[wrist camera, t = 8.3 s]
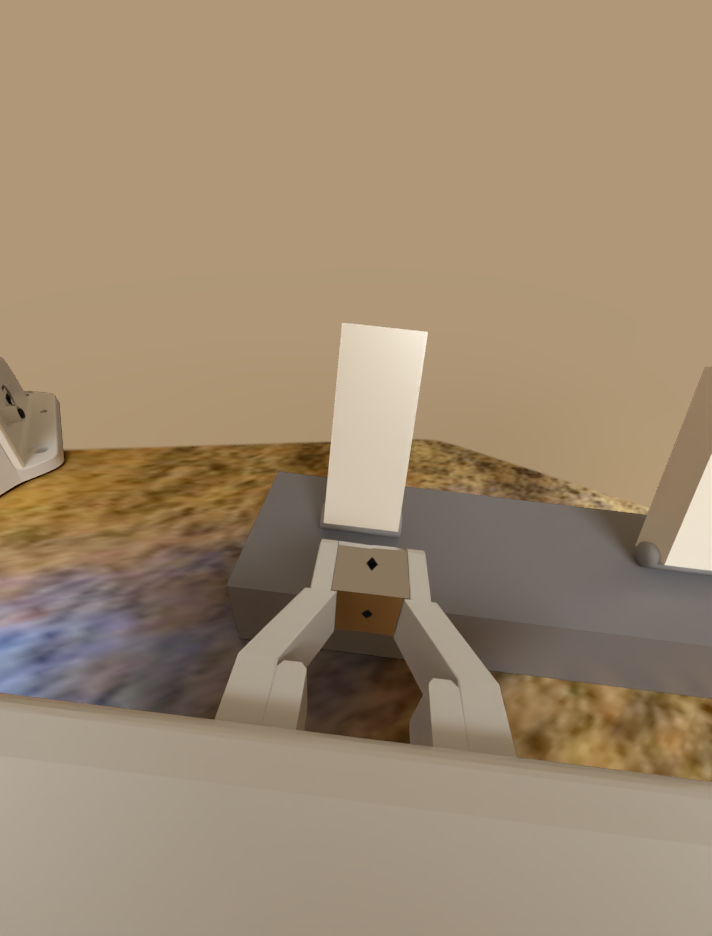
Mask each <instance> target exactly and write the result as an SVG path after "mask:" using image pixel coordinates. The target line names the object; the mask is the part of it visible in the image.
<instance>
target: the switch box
mask: <svg viewBox="0 0 712 936" xmlns="http://www.w3.org/2000/svg"><path fill="white" fill-rule="evenodd" d="M327 479H328V477H321V476H313V475H304V474H296V473H287V472H279V471H278V473H277V475H276V478H275V480H274V482H273V484H272V486H271V489H270V491H269V493H268V495H267V497H266V499H265V502H264V504H263V506H262V508H261V510H260V513H259V515H258V517H257V519H256V521H255V523H254V526H253V528H252V530H251V532H250V534H249V536H248V539H247V541H246V543H245V545H244V547H243V550H242V552H241V554H240V556H239V558H238V560H237V563H236V565H235V567H234V569H233V571H232V574H231V576H230V578H229V580H228V582H227V584H226V588H227V592H228V596H229V600H230V604H231V607H232V611H233V615H234V619H235V623H236V627H237V631H238V635H239V638H241V639H248V640H252V639H253V638H254V637H255V636H256V635H257V634H258V633H259V632H260V631H261V630H262V629H263V628H264V627H265V626H266V625H267V624H268V623H269V622H270V621H271V620H272V619H273V618H274V617H275V616H276V615H277V614H278V613H279V612H280V611H281V610H282V609H284V608H285V607H286V606H287V605H288V604H289V603H290V602H291V601H292V600H293V599H294V598H295V597H296V596H297V595H298V594H299V593H300V592H301V591H302V590H303V589H304V588H310V587H311V582H312V578H313V573H314V568H315V564H316V559H317V555H318V550H319V545H320V542H321V540H322V539H327V540H335V541H344V542H351V543H358V544H365V545H378V546H388V547H397V548H406V549H414V550H423V551H424V552H425V554H426V563H427V571H428V579H429V588H430V596H431V602H434V603H437V604H438V605H439V607H440V608H441V609H442V611H443V612H444V613H445V614H446V616H447V617H448V618H449V620H450V621H451V622H452V624H453V625H454V626H455V628H456V629H457V630H458V632H459V633H460V634H461V635H462V637H463V638H464V639H465V641H466V642H467V643H468V645H469V646H470V647H471V649H472V650H473V651H474V653H475V654H476V655H477V656H478V658H479V659H480V660H481V662H482V663H483V664H484V666H485V667H486V668H487V670H491V671H499V672H507V673H514V674H522V675H530V676H538V677H546V678H554V679H561V680H569V681H577V682H585V683H593V684H600V685H608V686H616V687H624V688H632V689H640V690H647V691H655V692H663V693H671V694H679V695H687V696H694V697H702V698H710V699H712V575H704V574H695V573H687V572H679V571H671V570H662V569H654V568H646V567H643V566H641V565H640V564H639V563H638V562H637V560H636V558H635V549H636V546H635V545H636V542H637V540H638V537H639V535H640V532H641V530H642V527H643V524H644V522H645V519H646V517H647V515H643V514H634V513H626V512H618V511H609V510H601V509H592V508H584V507H575V506H567V505H558V504H550V503H541V502H533V501H524V500H516V499H508V498H499V497H491V496H482V495H474V494H465V493H457V492H448V491H440V490H431V489H423V488H414V487H406V486H405V489H404V496H403V503H402V509H401V513H402V529H401V535H400V537H399V538H397V537H389V536H381V535H373V534H364V533H356V532H348V531H339V530H331V529H323V528H320V521H321V513H322V507H323V504H324V503H325V501H326V490H327ZM321 649H327V650H334V651H342V652H350V653H358V654H366V655H374V656H381V657H389V658H397V659H404V657H403V655H402V653H401V651H400V649H399V647H398V645H397V643H396V641H395V640H394V636H390V635H383V634H376V633H369V632H362V631H351V630H340V629H334V632H333V633H332V634H331V636H330V637H329V638H328V640H327V641H326V642H325V644H324V645H323V646H322V648H321Z"/></svg>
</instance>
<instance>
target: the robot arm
mask: <svg viewBox="0 0 712 936" xmlns="http://www.w3.org/2000/svg"><path fill="white" fill-rule="evenodd" d="M63 462H64V453H63V441H62V429H61V417H60V405H59V401H58V400H57V398H56V396H55V395H54V394H51V393H45V392H34V391H23V389H22V388H21V386H20V385H19V382H18V381H17V379H16V377H15V375H14V374H13V372H12V371H11V369H10V368H9V366H8V365H7V363H6V362H5V361H4V359H3V358H1V357H0V495H1V494H3V493H4V492H6V491H8V490H9V489H11V488H12V487H14V486H16V485H18V484H20V483H22V482H24V481H27V480H29V479H32V478H34V477H37V476H39V475H42V474H44V473H46V472H49V471H51V470H53V469H55V468H57V467H59V466H60V465H61V464H62V463H63ZM334 629H340V630H351V631H362V632H369V633H376V634H383V635H390V636H394V640H395V641H396V643H397V645H398V647H399V649H400V651H401V653H402V655H403V657H404V659H405V661H406V663H407V665H408V667H409V669H410V671H411V673H412V674H413V676H414V678H415V680H416V682H417V684H418V686H419V688H420V690H421V692H422V694H423V696H422V698H421V700H420V702H419V704H418V706H417V708H416V710H415V712H414V714H413V716H412V718H411V720H410V722H409V728H410V744H406V743H398V742H390V741H382V740H374V739H366V738H358V737H350V736H342V735H334V734H326V733H318V732H310V731H304V729H305V722H306V716H307V669H306V668H307V667H308V665H309V664H310V663H311V661H312V660H313V659H314V657H315V656H316V655H317V653H318V652H319V650H320V649H321V648H322V646H323V645H324V644H325V642H326V641H327V640H328V638H329V637H330V636H331V634H332V633H333V632H334ZM0 936H712V781H704V780H695V779H687V778H679V777H671V776H663V775H655V774H647V773H639V772H631V771H623V770H615V769H607V768H599V767H591V766H583V765H575V764H567V763H559V762H551V761H543V760H535V759H527V758H519V757H517V756H516V752H515V748H514V744H513V740H512V736H511V732H510V727H509V723H508V719H507V715H506V711H505V707H504V703H503V699H502V695H501V691H500V686H499V684H498V683H497V681H496V680H495V679H494V677H493V676H492V675H491V674H490V672H489V671H488V670H487V668H486V667H485V666H484V664H483V663H482V662H481V660H480V659H479V658H478V656H477V655H476V654H475V653H474V651H473V650H472V649H471V647H470V646H469V645H468V643H467V642H466V641H465V639H464V638H463V637H462V635H461V634H460V633H459V632H458V630H457V629H456V628H455V626H454V625H453V624H452V622H451V621H450V620H449V618H448V617H447V616H446V614H445V613H444V612H443V611H442V609H441V608H440V607H439V605H438V604H437V603H434V602H431V596H430V588H429V579H428V571H427V563H426V554H425V552H424V551H423V550H414V549H406V548H397V547H388V546H378V545H365V544H358V543H351V542H344V541H335V540H327V539H322V540H321V542H320V545H319V550H318V555H317V559H316V564H315V568H314V573H313V578H312V582H311V587H310V588H304V589H303V590H302V591H301V592H300V593H299V594H298V595H297V596H296V597H295V598H294V599H293V600H292V601H291V602H290V603H289V604H288V605H287V606H286V607H285V608H284V609H282V610H281V611H280V612H279V613H278V614H277V615H276V616H275V617H274V618H273V619H272V620H271V621H270V622H269V623H268V624H267V625H266V626H265V627H264V628H263V629H262V630H261V631H260V632H259V633H258V634H257V635H256V636H255V637H254V638H253V639H252V640H251V641H250V642H249V643H248V644H247V645H246V646H245V647H244V648H243V649H242V650H241V651H240V652H239V653H238V655H237V658H236V661H235V664H234V666H233V669H232V672H231V675H230V678H229V680H228V683H227V686H226V689H225V691H224V694H223V697H222V700H221V703H220V705H219V708H218V711H217V714H216V716H215V719H206V718H198V717H190V716H182V715H174V714H165V713H157V712H149V711H141V710H133V709H125V708H117V707H109V706H101V705H93V704H85V703H77V702H69V701H61V700H53V699H45V698H37V697H29V696H21V695H13V694H5V693H0Z"/></svg>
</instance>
